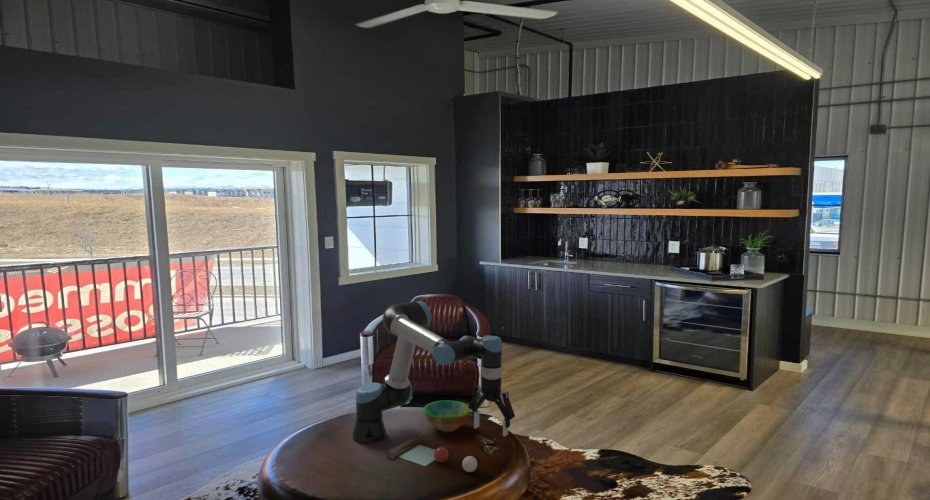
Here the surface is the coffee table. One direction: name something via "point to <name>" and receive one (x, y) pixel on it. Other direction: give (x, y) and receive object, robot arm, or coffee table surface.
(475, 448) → the coffee table surface
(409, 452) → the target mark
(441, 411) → the bowl
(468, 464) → the white ball
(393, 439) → the coffee table surface
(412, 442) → the strip
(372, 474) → the coffee table surface
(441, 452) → the red ball
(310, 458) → the coffee table surface
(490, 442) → the butterfly
